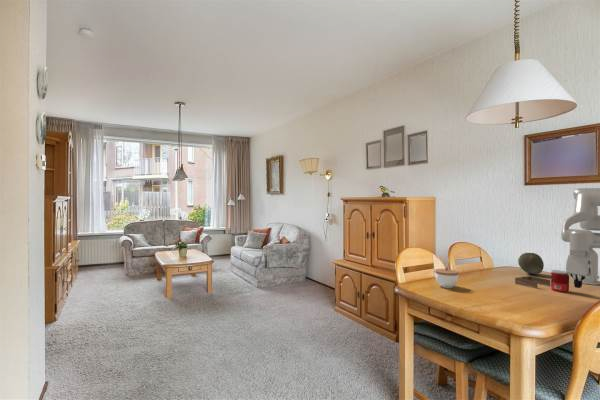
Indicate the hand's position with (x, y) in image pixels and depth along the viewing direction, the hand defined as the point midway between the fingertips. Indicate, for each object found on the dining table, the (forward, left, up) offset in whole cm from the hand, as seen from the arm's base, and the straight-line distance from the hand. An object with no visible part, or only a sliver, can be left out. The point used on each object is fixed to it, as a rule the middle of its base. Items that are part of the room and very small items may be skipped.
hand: (577, 287), depth 179 cm
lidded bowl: (+53, -40, -4) cm, 67 cm away
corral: (0, -22, -4) cm, 23 cm away
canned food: (0, -8, -4) cm, 10 cm away
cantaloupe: (-29, -40, -4) cm, 50 cm away
